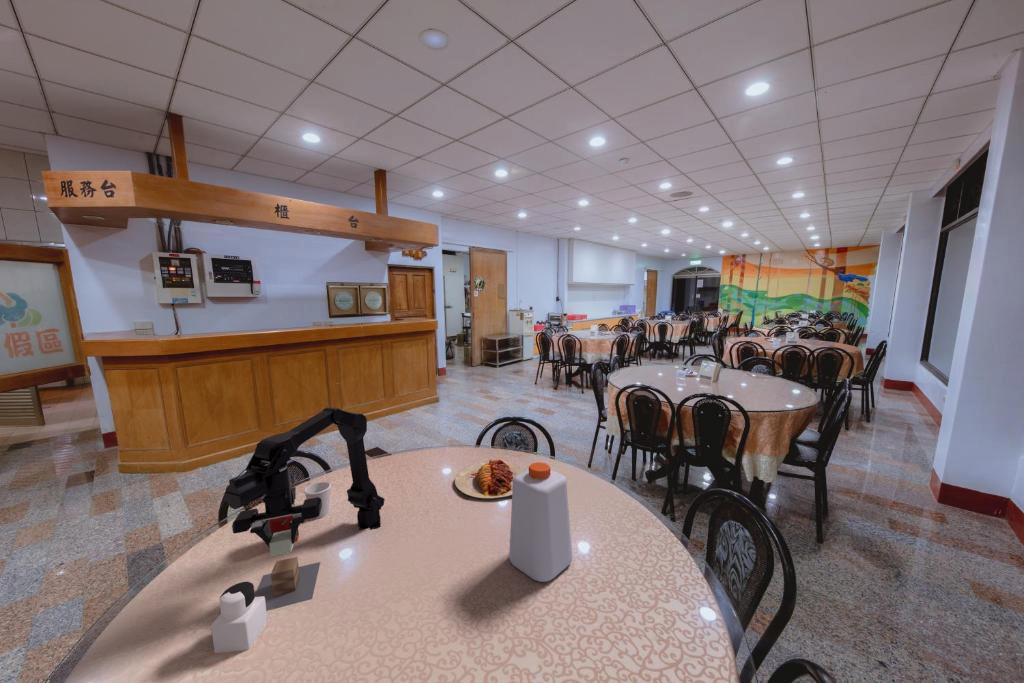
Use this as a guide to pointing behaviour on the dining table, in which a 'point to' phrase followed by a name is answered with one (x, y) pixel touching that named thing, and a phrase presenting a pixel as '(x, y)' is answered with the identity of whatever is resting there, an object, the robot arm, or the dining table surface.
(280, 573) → the tower top
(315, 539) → the dining table surface
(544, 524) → the plastic bottle
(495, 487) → the plate of pasta
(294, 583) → the tower base
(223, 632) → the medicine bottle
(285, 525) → the canned food
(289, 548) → the sage block
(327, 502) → the dixie cup
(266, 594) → the plate
